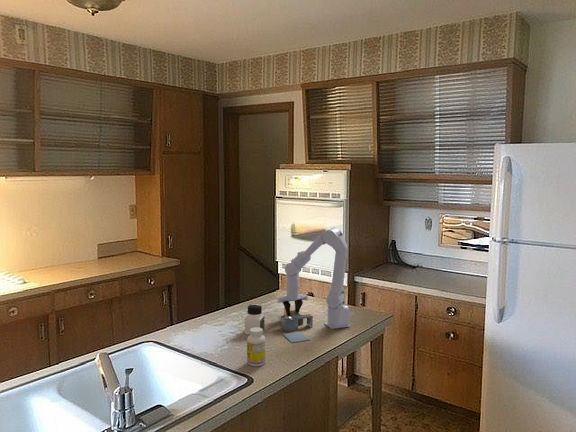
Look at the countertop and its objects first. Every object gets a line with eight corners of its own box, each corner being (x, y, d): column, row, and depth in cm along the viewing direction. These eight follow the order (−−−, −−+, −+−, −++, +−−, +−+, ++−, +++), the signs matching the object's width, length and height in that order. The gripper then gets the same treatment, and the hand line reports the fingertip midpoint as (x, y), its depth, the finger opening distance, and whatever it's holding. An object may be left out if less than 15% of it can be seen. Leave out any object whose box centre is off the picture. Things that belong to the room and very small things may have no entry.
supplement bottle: (247, 359, 181) (247, 326, 179) (264, 359, 181) (265, 326, 180) (247, 367, 174) (247, 332, 173) (265, 366, 175) (265, 332, 173)
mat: (300, 332, 210) (300, 331, 210) (309, 340, 200) (309, 339, 200) (282, 334, 207) (283, 333, 207) (291, 343, 198) (291, 342, 198)
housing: (309, 324, 220) (309, 312, 219) (313, 328, 215) (314, 315, 215) (281, 328, 215) (281, 315, 214) (285, 331, 210) (285, 319, 210)
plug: (290, 314, 234) (291, 307, 234) (303, 324, 220) (303, 316, 220) (283, 315, 233) (284, 307, 233) (295, 325, 219) (295, 317, 219)
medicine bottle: (260, 335, 205) (260, 308, 204) (244, 334, 207) (244, 307, 205) (264, 330, 212) (264, 303, 211) (248, 328, 214) (248, 302, 212)
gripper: (303, 284, 232) (303, 311, 234) (275, 286, 227) (275, 315, 229) (309, 288, 226) (309, 316, 227) (280, 290, 221) (280, 319, 222)
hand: (292, 316), depth 227 cm, fingers closed on plug, 4 cm apart
